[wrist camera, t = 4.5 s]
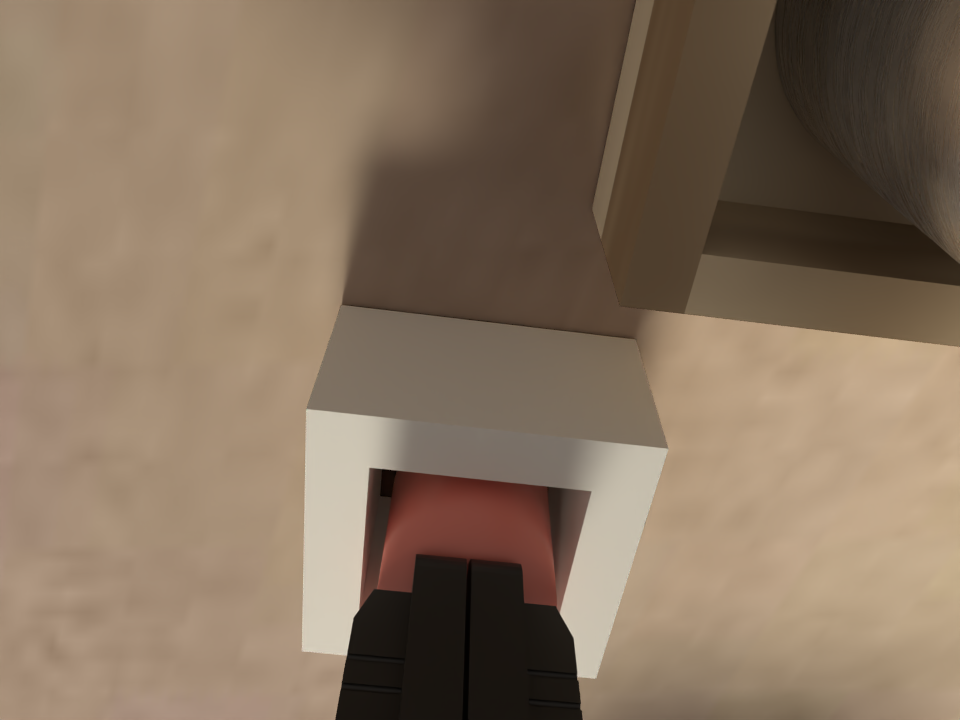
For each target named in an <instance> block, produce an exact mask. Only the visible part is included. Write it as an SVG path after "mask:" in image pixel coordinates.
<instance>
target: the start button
mask: <svg viewBox="0 0 960 720" xmlns="http://www.w3.org/2000/svg"><path fill="white" fill-rule="evenodd" d="M416 554H423V555H433V556H444V557H454V558H464V559H467V572H468V566H469V561H470V559H477V560H487V561H497V562H507V563H518V564H521V565H522V571H523V589H524V603H529V604H540V605H550V606H556V608H557V594H556V582H555V571H554V560H553V548H552V537H551V526H550V514H549V503H548V492H547V486H538V485H528V484H519V483H510V482H500V481H491V480H481V479H472V478H463V477H453V476H444V475H434V474H425V473H416V472H406V471H397V473H396V476H395V479H394V485H393V491H392V498H391V504H390V510H389V517H388V523H387V530H386V536H385V542H384V549H383V555H382V562H381V568H380V574H379V581H378V587H377V589H380V590H390V591H401V592H412V584H413V575H414V567H415V558H416Z"/></svg>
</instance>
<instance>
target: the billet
mask: <svg viewBox="0 0 960 720" xmlns="http://www.w3.org/2000/svg"><path fill="white" fill-rule="evenodd" d="M775 52H776V58H777V65H778V72H779V75H780V78H781V82H782V85H783V88H784V92H785V94H786V96H787V98H788V100H789V103H790V105H791V107H792V109H793V111H794V113H795V114H796V116H797V117H798V119H799V120H800V122H801V123H802V125H803V126H804V127H805V129H806V130H807V131H808V132H809V133H810V134H811V135H812V136H813V137H814V138H815V139H816V140H817V142H818V143H819V144H821V145H822V146H823V147H824V148H825V149H826V150H828V151H829V152H830V153H831V154H832V155H833V156H835V157H836V158H837V159H838V160H839V161H840V162H842V163H843V164H844V165H845V166H846V167H847V168H849V169H850V170H851V171H852V172H853V173H854V174H856V175H857V176H858V177H859V178H860V179H861V180H863V181H864V182H865V183H866V184H867V185H868V186H869V187H871V188H872V189H873V190H874V191H875V192H876V193H878V194H879V195H880V196H881V197H882V198H883V199H885V200H886V201H887V202H888V203H889V204H890V205H892V206H893V207H894V208H895V209H896V210H897V211H899V212H900V213H901V214H902V215H903V216H904V217H906V218H907V219H908V220H909V221H910V222H911V223H913V224H914V225H915V226H916V227H917V228H918V229H920V230H921V231H922V232H923V233H924V234H925V235H927V236H928V237H929V238H930V239H931V240H932V241H933V242H935V243H936V244H937V245H938V246H939V247H940V248H942V249H943V250H944V251H945V252H946V253H947V254H949V255H950V256H951V257H952V258H953V259H954V260H956V261H957V262H958V263H959V264H960V0H777V6H776V15H775Z"/></svg>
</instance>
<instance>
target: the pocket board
mask: <svg viewBox="0 0 960 720" xmlns="http://www.w3.org/2000/svg"><path fill="white" fill-rule="evenodd" d="M776 6H777V0H636V4H635V8H634V13H633V18H632V23H631V27H630V32H629V37H628V42H627V46H626V51H625V56H624V60H623V65H622V70H621V75H620V79H619V84H618V89H617V94H616V98H615V103H614V108H613V112H612V117H611V122H610V127H609V131H608V136H607V141H606V146H605V150H604V155H603V160H602V164H601V169H600V174H599V179H598V183H597V188H596V193H595V198H594V202H593V207H592V211H593V214H594V218H595V221H596V225H597V228H598V232H599V235H600V239H601V242H602V246H603V249H604V253H605V256H606V260H607V263H608V267H609V270H610V274H611V277H612V281H613V284H614V288H615V291H616V295H617V298H618V302H619V305H620V306H623V307H631V308H639V309H648V310H656V311H664V312H673V313H681V314H689V315H698V316H706V317H715V318H723V319H731V320H740V321H748V322H756V323H765V324H773V325H781V326H790V327H798V328H806V329H815V330H823V331H831V332H840V333H848V334H857V335H865V336H873V337H882V338H890V339H898V340H907V341H915V342H923V343H932V344H940V345H948V346H957V347H960V264H959V263H958V262H957V261H956V260H954V259H953V258H952V257H951V256H950V255H949V254H947V253H946V252H945V251H944V250H943V249H942V248H940V247H939V246H938V245H937V244H936V243H935V242H933V241H932V240H931V239H930V238H929V237H928V236H927V235H925V234H924V233H923V232H922V231H921V230H920V229H918V228H917V227H916V226H915V225H914V224H913V223H911V222H910V221H909V220H908V219H907V218H906V217H904V216H903V215H902V214H901V213H900V212H899V211H897V210H896V209H895V208H894V207H893V206H892V205H890V204H889V203H888V202H887V201H886V200H885V199H883V198H882V197H881V196H880V195H879V194H878V193H876V192H875V191H874V190H873V189H872V188H871V187H869V186H868V185H867V184H866V183H865V182H864V181H863V180H861V179H860V178H859V177H858V176H857V175H856V174H854V173H853V172H852V171H851V170H850V169H849V168H847V167H846V166H845V165H844V164H843V163H842V162H840V161H839V160H838V159H837V158H836V157H835V156H833V155H832V154H831V153H830V152H829V151H828V150H826V149H825V148H824V147H823V146H822V145H821V144H819V143H818V142H817V140H816V139H815V138H814V137H813V136H812V135H811V134H810V133H809V132H808V131H807V130H806V129H805V127H804V126H803V125H802V123H801V122H800V120H799V119H798V117H797V116H796V114H795V113H794V111H793V109H792V107H791V105H790V103H789V100H788V98H787V96H786V94H785V92H784V88H783V85H782V82H781V78H780V75H779V72H778V65H777V58H776V52H775V15H776Z"/></svg>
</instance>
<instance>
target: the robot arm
mask: <svg viewBox="0 0 960 720" xmlns="http://www.w3.org/2000/svg"><path fill="white" fill-rule="evenodd" d="M577 674H578V673H577V664H576V655H575V646H574V638H573V636H572V634H571V632H570V631H569V629H568V627H567V625H566V624H565V622H564V620H563V618H562V616H561V615H560V613H559V611H558V609H557V608H556V606H550V605H540V604H529V603H524V589H523V571H522V565H521V564H518V563H507V562H497V561H487V560H477V559H470V561H469V566H468V572H467V559H464V558H454V557H444V556H433V555H423V554H416V558H415V567H414V575H413V584H412V592H401V591H390V590H380V589H374V590H373V591H372V593H371V594H370V595H369V597H368V598H367V600H366V601H365V602H364V604H363V605H362V607H361V608H360V609H359V611H358V612H357V614H356V615H355V616H354V618H353V623H352V629H351V634H350V640H349V646H348V651H347V659H346V663H345V668H344V674H343V680H342V687H341V691H340V697H339V702H338V708H337V714H336V719H335V720H583V719H582V711H581V710H580V704H581V701H580V692H579V682H578V681H577Z"/></svg>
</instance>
